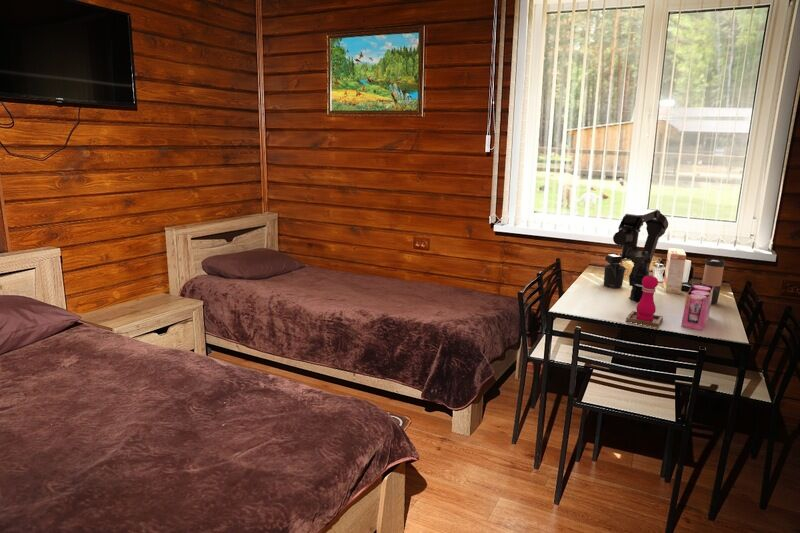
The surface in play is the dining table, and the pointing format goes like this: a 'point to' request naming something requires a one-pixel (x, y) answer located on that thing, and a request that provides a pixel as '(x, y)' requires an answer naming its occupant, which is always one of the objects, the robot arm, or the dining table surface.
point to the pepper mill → (647, 298)
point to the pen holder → (613, 277)
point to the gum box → (697, 306)
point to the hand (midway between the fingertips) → (625, 277)
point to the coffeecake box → (674, 270)
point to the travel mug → (713, 276)
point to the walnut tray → (633, 315)
